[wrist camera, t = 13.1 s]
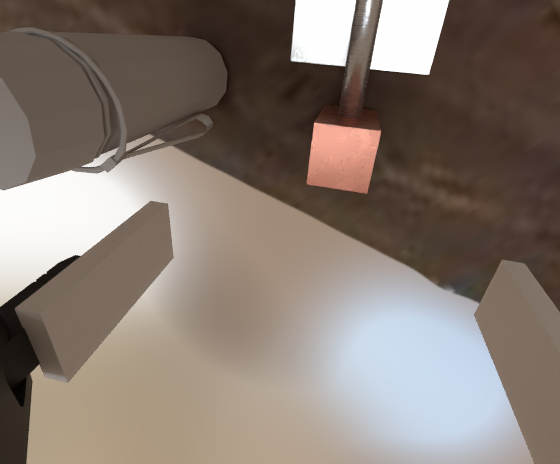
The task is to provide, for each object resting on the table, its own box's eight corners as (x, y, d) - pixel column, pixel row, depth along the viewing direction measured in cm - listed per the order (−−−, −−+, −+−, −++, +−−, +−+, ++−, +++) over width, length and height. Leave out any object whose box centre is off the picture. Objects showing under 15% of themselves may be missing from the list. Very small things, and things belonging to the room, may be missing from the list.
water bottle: (152, 66, 37) (-131, 99, 16) (203, 16, 34) (-71, -27, 12) (205, 138, 40) (24, 248, 19) (256, 98, 36) (108, 178, 15)
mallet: (364, -177, 24) (365, -281, 16) (437, -177, 23) (475, -286, 16) (318, 153, 36) (306, 184, 28) (366, 160, 35) (367, 193, 28)
